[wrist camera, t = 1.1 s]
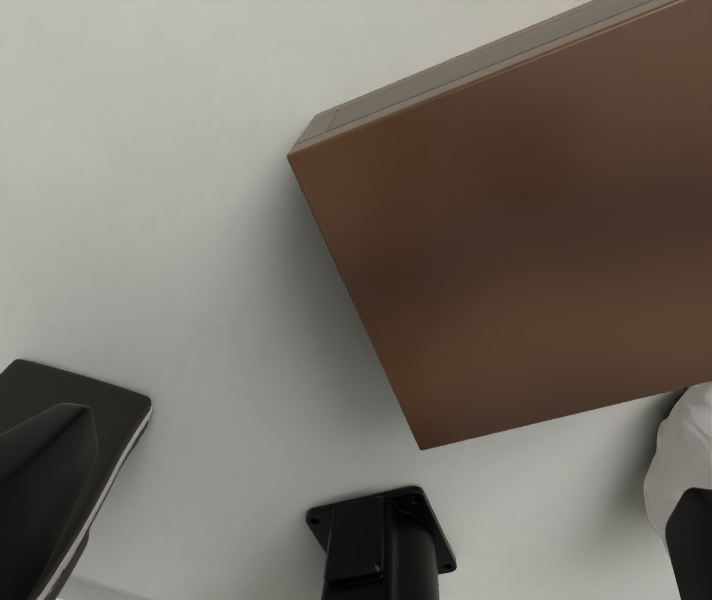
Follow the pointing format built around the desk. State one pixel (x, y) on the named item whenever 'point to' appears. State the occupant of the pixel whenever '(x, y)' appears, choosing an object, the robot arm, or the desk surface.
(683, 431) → the bust
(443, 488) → the desk surface
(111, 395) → the battery charger
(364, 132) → the walnut keepsake box
